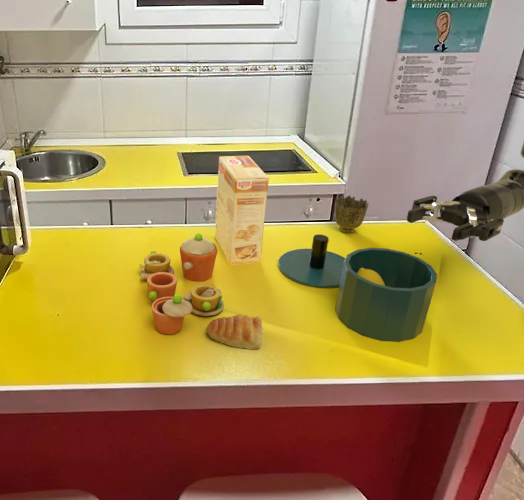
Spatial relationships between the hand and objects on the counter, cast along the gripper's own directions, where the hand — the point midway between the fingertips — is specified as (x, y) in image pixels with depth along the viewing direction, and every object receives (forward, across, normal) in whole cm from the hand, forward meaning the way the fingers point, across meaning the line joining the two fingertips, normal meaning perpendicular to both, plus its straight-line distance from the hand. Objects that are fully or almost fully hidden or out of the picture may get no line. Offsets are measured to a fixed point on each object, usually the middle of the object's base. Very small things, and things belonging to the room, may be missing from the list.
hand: (431, 225), depth 90 cm
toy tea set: (+35, -25, +16) cm, 46 cm away
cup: (-14, -27, +16) cm, 35 cm away
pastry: (+34, -9, +16) cm, 39 cm away
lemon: (+9, -1, +15) cm, 17 cm away
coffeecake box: (+14, -34, +16) cm, 40 cm away
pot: (+10, 0, +16) cm, 19 cm away
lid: (+6, -18, +15) cm, 25 cm away
